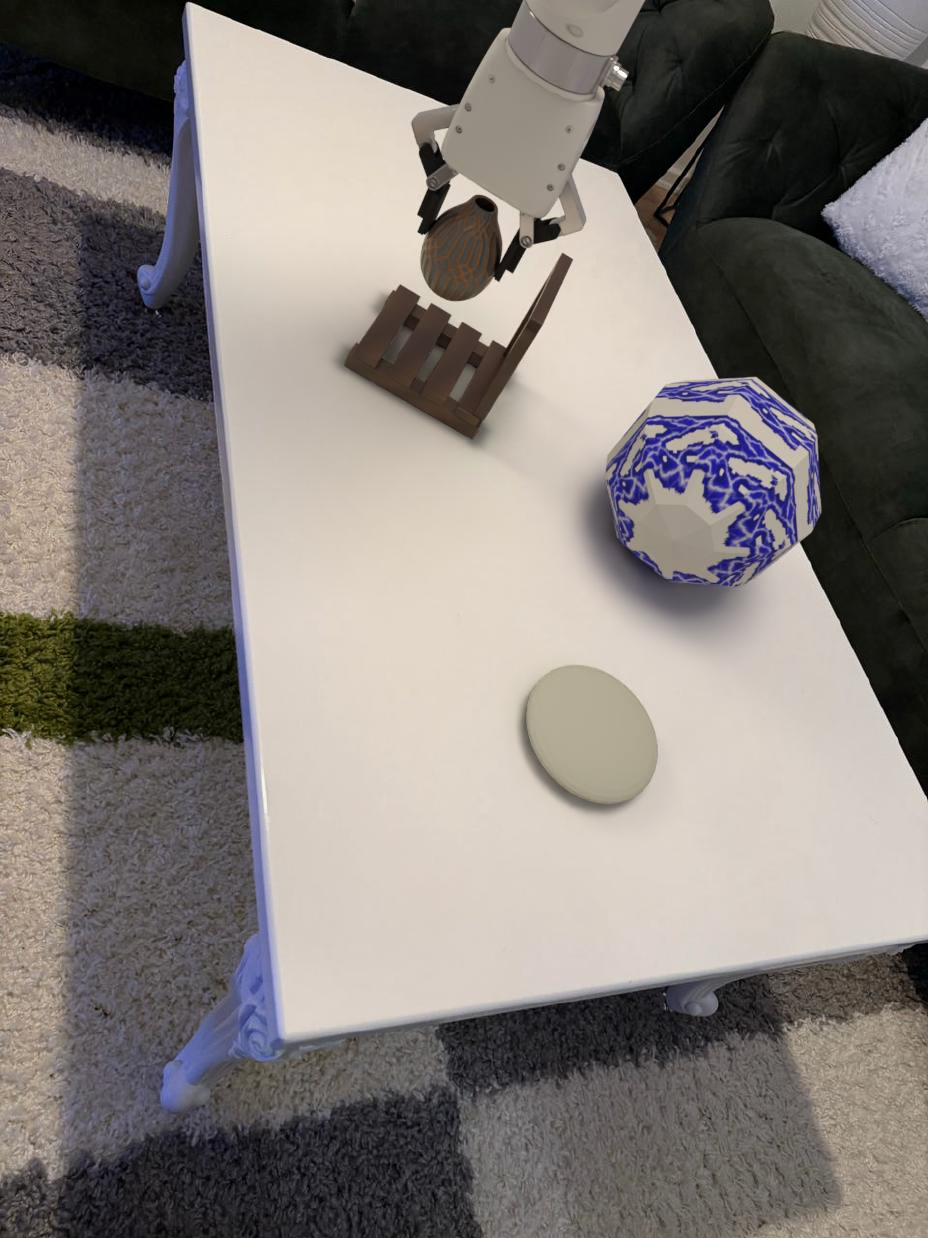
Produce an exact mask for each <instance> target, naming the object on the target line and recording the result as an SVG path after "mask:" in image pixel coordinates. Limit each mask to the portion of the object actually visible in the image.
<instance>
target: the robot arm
mask: <svg viewBox="0 0 928 1238" xmlns="http://www.w3.org/2000/svg"><path fill="white" fill-rule="evenodd" d="M645 1H646V0H522V2H521V4H520V7H519V9H518V11H517V13H516V16H515V18H514V21H513V23H512V25H511V27H504V28H502V29H501V30H500V31H499V33H498V34H497V36H496V37H495V39H494V40H493V41H492V43H491V45H490V46H489V48H488V50H487V52H486V54H485V55H484V57H483V58H482V60H481V61H480V64H479V66H478V67H477V69H476V71H475V72H474V75H473V76H472V79H471V80H470V82H469V84H468V86H467V88H466V90H465V91H464V94H463V97H461V100H460V103H457V104H452V105H448V106H442V107H437V108H433V109H427V110H424V111H420V112H417V114H416V115H415V116H414V117H413V118H412V119H411V122H410V124H411V125H410V126H411V129H412V132H413V135H414V139H415V142H416V145H417V147H418V157H419V159H420V162H421V165H422V167H423V171H424V174H425V176H426V180H425V185H426V187H427V189H426V191H425V194H424V196H423V199H422V201H421V204H420V206H419V207H418V208H419V209H418V210H417V213H416V215H417V216H418V217H420V218H421V219H422V220H421V222H420V225H419V226H418V229H417V232H416V233H418V234H420V235H421V236H426V234H427V232H428V230H429V229H430V227H431V225H432V224H433V223H434V221H435V220H436V219H437V218H438V217H439V216H438V215H439V214H440V211H441V209H442V207H443V205H444V202H445V200H446V197H447V195H448V193H449V191H450V188H451V186H452V185H451V184H450V183H451V182H452V181H451V180H453V179H454V178H455V177H457V176H458V175H461V176H463V177H464V178H466V179H467V180H469V181H471V182H472V183H474V184H475V185H477V186H478V187H480V188H481V189H483V190H485V191H486V192H488V193H490V194H491V195H493V196H494V197H497V198H498V199H499V200H501V201H502V202H504V203H506V204H507V205H509V206H510V207H512V208H514V209H515V210H517V211H518V212H519V227H518V229H517V230H516V233H515V234H514V236H513V238H512V239H511V241H510V243H509V245H508V247H507V249H506V250H505V253H504V254H503V256H502V257H501V260H500V264H499V266H498V268H497V270H496V272H495V274H494V275H493V280H495V281H497V282H498V283H500V281H501V280H502V278H503V276H504V274H505V273H506V271H507V272H509V273H511V274H512V275H513V274H514V272H515V271H516V269H517V267H518V265H519V264H520V261H522V259H523V257H524V255H525V253H526V251H527V249H530V248H531V247H533V245H537V244H542V243H546V242H552V241H555V240H557V239H558V238H559V237H565V236H568V235H569V236H570V235H572V234H575V233H578V232H581V231H582V230H583V229H584V227H585V224H586V223H587V215H586V212H585V210H584V206H583V203H582V200H581V198H580V194H579V191H578V189H577V185H576V182H575V179H574V176H573V173H574V171H575V168H576V166H577V165H578V162H579V160H580V158H581V156H582V154H583V152H584V150H585V148H586V147H587V144H588V142H589V139H590V137H591V135H592V133H593V131H594V128H595V126H596V123H597V120H598V118H599V115H600V112H601V110H602V106H603V103H604V100H605V96H606V94H605V90H604V86H607V87H608V88H610V87H611V88H613V89H614V90H616V91H617V92H619V91H620V90H621V88H622V86H623V84H624V83H625V81H626V79H627V77H628V76H629V73H630V72H629V71H628V70H626V69H624V68H623V67H622V64H621V63H620V62H618V61H619V58H620V57H619V56H617V54H618V52H619V50H620V49H621V46H622V44H623V42H624V41H625V39H626V37H627V35H628V33H629V31H630V29H631V28H632V26H633V24H634V22H635V20H636V19H637V17H638V15H639V13H640V11H641V9H642V7H643V5H644V3H645ZM446 129H447V130H446ZM440 130H446V132H445V135H444V138H443V141H442V144H441V147H440V144H439V142H438V141H437V140H436V134H435V131H440ZM558 200H559V202H560V204H561V207H562V210H563V213H564V214H563V215H561V216H560V217H558V216H557V217H556V216H554V217H550V218H546V219H543V218H545V217H546V216H547V215H548V214H549V213H550V212H551V211H552V209H553V207H554V205H555V204H556V202H557V201H558Z"/></svg>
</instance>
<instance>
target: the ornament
mask: <svg viewBox="0 0 928 1238" xmlns="http://www.w3.org/2000/svg"><path fill="white" fill-rule="evenodd" d="M604 472H605V473H604V478H605V483H606V490H607V493H608V498H609V503H610V509H611V513H612V518H613V523H614V528H615V534H616V538H617V539H618V540H619V541H620V543H621V544H622V545H623V546H624V547H625V548H626V549H628V550H629V551H630V552H631V553H632V554H633V555H634V556H636V558H638V559H640V560H641V561H642V562H643V563H644V564H646V565H647V566H648V567H649V568H650V569H651V570H653V571H654V572H656V574H658V575H659V576H660V577H661V578H662V579H664V580H665V581H668V582H670V583H681V584H695V585H706V586H718V587H729V588H730V587H731V588H741V587H742V586H744V585H746V584H748V583H749V582H751V581H753V580H755V579H756V578H757V577H758V576H760V575H761V574H763V573H764V572H765V571H766V570H768V568H770V567H771V566H772V565H773V564H774V563H776V562H777V561H779V559H781V558H782V557H783V556H784V555H786V554H787V553H788V552H789V551H791V550H792V549H793V548H794V547H796V546H797V545H799V543H801V541H803V540H804V539H805V538H806V537H808V536H809V535H810V534H811V533H812V532H813V530H814V528H815V526H816V524H817V522H818V520H819V518H820V516H821V514H822V499H821V482H820V461H819V444H818V434H817V430H816V427H815V423H813V422H812V421H811V420H809V419H808V418H807V417H806V416H804V415H803V414H802V413H801V412H800V411H799V410H797V409H796V408H795V407H793V406H792V405H791V404H790V403H789V402H787V401H786V400H785V399H784V398H783V397H782V396H780V395H779V394H778V393H777V392H775V390H773V389H772V388H770V387H769V386H768V385H767V384H766V383H764V382H763V381H762V380H761V379H759V378H758V377H757V376H748V377H746V376H745V377H728V378H709V379H708V378H707V379H706V378H705V379H688V380H687V379H686V380H681V381H676V382H675V381H674V382H671V383H666V384H665V385H664V386H663V387H662V388H661V389H660V391H658V392H657V394H656V395H655V397H653V399H652V400H651V401H650V402H649V404H648V405H647V406H646V407H645V408H644V410H643V411H642V412H641V413H640V414H639V416H638V417H637V418H636V420H635V421H634V422H633V423H632V425H630V427H629V428H628V429H627V431H626V432H625V433H624V434H623V436H621V438H620V439H619V440H618V441H617V442H616V444H615V445H614V446H613V448H612V449H611V450H610V452H609V453H608V454H607V455H606V465H605V471H604Z"/></svg>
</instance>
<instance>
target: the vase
mask: <svg viewBox="0 0 928 1238" xmlns="http://www.w3.org/2000/svg"><path fill="white" fill-rule="evenodd" d="M424 236H425V237H424V239H423V243H422V245H421V249H420V256H419V259H420V260H419V262H420V264H419V265H420V270H421V275H422V277H423V279H424V282H425V284H426V285H427V287H428V288H429V290H431V291H432V293H434V294H435V295H436V296H437V297H439V298H440V299H443V300H446V301H448V302H464V301H468V300H471V299H474V298H476V297H477V296H479V295H480V294H481V293H483V291H484V290H486V289H487V287H488V286H489V285H490V284H491V282H493V280H494V277H493V275H494V274H495V272H496V270H497V268H498V266H499V264H500V262H501V260H502V257H503V256H502V255H503V238H502V237H503V236H502V232H501V228H500V224H499V207H498V205H497V203H496V202H495V201H494V200H493V199H491V198H490V197H489V196H487V195H484V194H475V195H473V196H472V197H470V198H469V199H468V200H467V201H465V202H462V203H460V204H457V205H455V206H452V207H450V208H448V209H446V210H445V211H443V212H442V213H441V214H440V215H439V216H437V218H436V220H435V221H434V223H433V224H432V225H431V227H430V229H429V230H428V232H427V233H426V235H424Z"/></svg>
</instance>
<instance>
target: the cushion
mask: <svg viewBox="0 0 928 1238" xmlns="http://www.w3.org/2000/svg"><path fill="white" fill-rule="evenodd" d="M649 715H650V714H648V712H647V710H646V708H645V706H644V705H643V703H642V702H641V701H640V699H639V698H638V697H637V696H636V694H635V693H634V692H633V691H632V690H631V689H630V688H629V687H628V686H627V685H626V684H624V683H623V682H622V681H620V679H618V678H616V677H615V676H614V675H612V674H611V673H608V672H606V671H604V670H602V669H599V668H597V667H594V666H593V667H592V666H589V665H582V664H570V665H563V666H559V667H557V668H555V669H552V670H550V671H548V672H546V673H545V674H544V675H543V676H542V677H540V679H539V680H537V683H536V684H535V685H534V687H533V689H532V690H531V692H530V695H529V697H528V701H527V705H526V713H525V722H526V723H525V724H526V729H527V735H528V738H529V742H530V744H531V747H532V750H533V752H534V753H535V754H534V755H535V756H536V757H537V760H538V761H539V762H540V764H541V766H542V767H543V769H544V770H545V771H546V772H547V773H548V775H549V776H550V777H551V778H552V779H553V780H554V781H555V782H556V783H557V784H559V786H561V787H562V788H563V789H564V790H566V791H568V792H569V793H571V794H572V795H574V796H576V797H578V798H580V799H583V800H586V801H588V802H592V803H596V804H605V805H611V804H612V805H614V804H619V803H624V802H627V801H629V800H632V799H633V798H635V797H637V796H639V795H640V794H641V793H642V792H643V791H644V790H645V789H646V788H647V786H648V785H649V784H650V782H651V781H652V779H653V777H654V775H655V772H656V769H657V763H658V757H659V750H658V738H657V735H656V731H655V727H654V725H653V722H652V719H651V718H650V716H649Z"/></svg>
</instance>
